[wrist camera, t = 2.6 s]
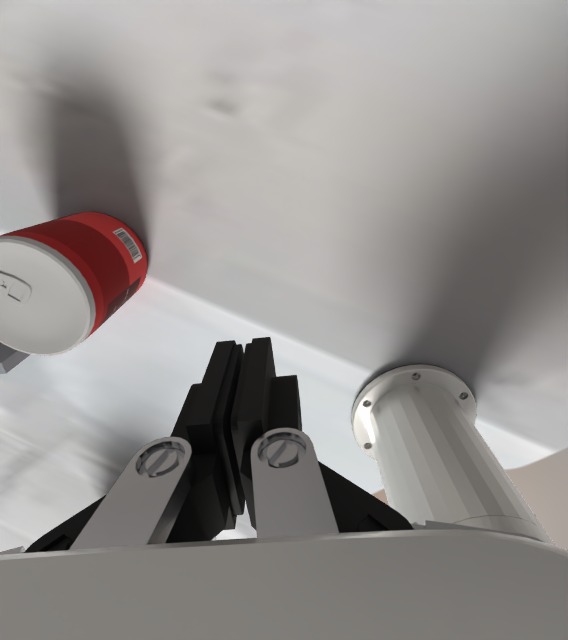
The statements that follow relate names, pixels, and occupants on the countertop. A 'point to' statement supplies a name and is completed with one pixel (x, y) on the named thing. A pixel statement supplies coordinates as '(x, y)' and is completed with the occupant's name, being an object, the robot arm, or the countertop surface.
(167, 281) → the countertop surface
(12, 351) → the box
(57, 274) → the canned food
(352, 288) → the countertop surface
